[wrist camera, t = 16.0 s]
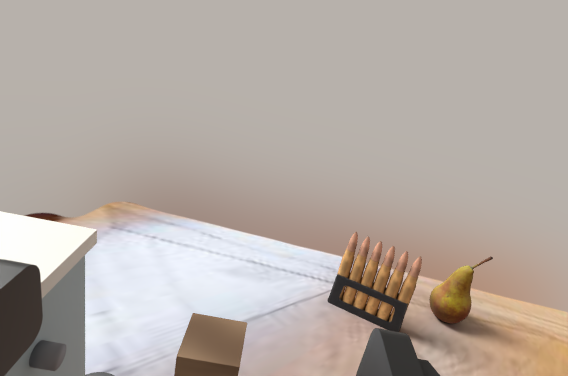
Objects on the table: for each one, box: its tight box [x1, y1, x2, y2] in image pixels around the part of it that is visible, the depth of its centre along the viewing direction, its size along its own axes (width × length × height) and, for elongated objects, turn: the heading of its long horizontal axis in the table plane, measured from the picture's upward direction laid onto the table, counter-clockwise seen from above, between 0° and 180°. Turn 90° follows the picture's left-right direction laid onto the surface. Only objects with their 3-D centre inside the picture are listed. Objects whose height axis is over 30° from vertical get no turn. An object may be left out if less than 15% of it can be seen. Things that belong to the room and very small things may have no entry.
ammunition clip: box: [328, 232, 422, 332], centre depth 53 cm, size 11×2×12 cm, turn 64°
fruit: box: [430, 257, 493, 323], centre depth 56 cm, size 6×6×12 cm
